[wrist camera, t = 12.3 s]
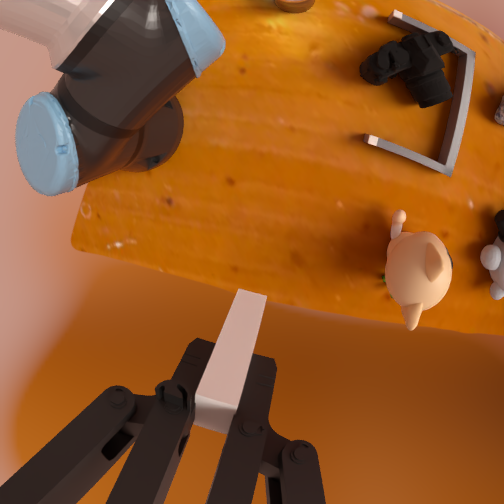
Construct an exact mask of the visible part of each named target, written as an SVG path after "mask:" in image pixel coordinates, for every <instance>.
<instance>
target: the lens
mask: <svg viewBox="0 0 504 504" xmlns="http://www.w3.org/2000/svg"><path fill="white" fill-rule="evenodd" d="M274 2H275V4H276V5H277V7H278V8H280V9H281V10H283V11H285V12H289V13H302V12H305V11H307V10H309V9H310V8H311V7H312V6H313V4H314V2H315V0H274Z"/></svg>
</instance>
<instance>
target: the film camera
mask: <svg viewBox="0 0 504 504" xmlns="http://www.w3.org/2000/svg"><path fill="white" fill-rule="evenodd" d="M401 40H402V42H399V43H397V41H391V42H389V43H387V44H385V45H383V46H381V47H380V49H379V51H378V52H376V53H374V54H372V55H370V56H369V57H368V58H367V59H366V60H365V61H364V62H362V64H361V65H360V73H361V75H360V76H361V77H363V79H365V80H366V81H367V82H369V83H371V84H373V85H376V86H379V85H382V84H384V83H386V82H387V81H388V80H387V78H388V77H389V78H391V79H392V78H395V77H396V76H397V73H399V75H400V77H401V79H402V80H403V81H404V82H406V86H407V88H408V89H409V90H410V92H411V94H412V96H413V98H414V100H415V101H416V102H418V104H419V106H420V108H426V107H429V106H433V105H436V104H439V103H441V102H444V101H446V100H448V99H450V98H452V97H453V95H452V92H451V91H450V89H451V87H450V85H449V83H448V81H447V80H446V78H445V76H444V72H443V71H442V68H445V66H444V62H443V60H442V59H441V57H440V56H441V55H443V54H446V53H449V52H453V53H455V50H456V51H457V53H455V54H458V53H459V50H458V48H456V47H454V46H453V43H452V41H451V40H450V38H449V36H448V35H447V34H445V33H444V32H443V31H434V32H430V33H426V34H419V33H417V32H415V33H412V34H409V35H406V36H404V37H403V38H402V39H401ZM454 49H455V50H454Z"/></svg>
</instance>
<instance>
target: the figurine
mask: <svg viewBox="0 0 504 504" xmlns="http://www.w3.org/2000/svg"><path fill="white" fill-rule="evenodd" d="M495 222H496V224H497V226H498V229H499V232H498V236H497V238H496V240H495V241H494V243H493V245H487V246H485V247H484V248H483V250H482V251H481V256H480V259H481V263H482V264H483V266H484V267H485V268H486V269H488V270H489V272H490V275H491V278H492V280H493V281H494V282H493V283H492V285H491V287H490V294H491V296H492V298H493V299H495V300H499V299H500V298H502V297H503V296H504V210H501V211H499V212H498V213H497V214H496V216H495Z"/></svg>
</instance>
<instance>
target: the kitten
mask: <svg viewBox="0 0 504 504" xmlns="http://www.w3.org/2000/svg"><path fill="white" fill-rule="evenodd" d="M405 220H406V213H405V212H404V211H403V210H397V211H396V212H395V213H394V214H393V216H392V221H393V222H392V227H391V241H390V243H389V245H388V248H387V259H388V260H387V263H386V267H385V276H382V279H383V282H386V285H387V288H388V290H389V292H390V295H391V298H393V299H394V300H395V301H396V302H397V303H398V304H400V305H401V310H402V314H403V316H404V319H405V323H406V327H407V328H408V329H409V330H413V329H415V327H416V326H417V324H418V321H419V318H420V315H421V312H422V310H426V309H429V308H431V307H433V306H434V305H436V304H437V303H438V302H439V301H440V300H441V299H442V298H443V297H444V295H445V294H446V292H447V290H448V288H449V285H450V282H451V275H452V268H453V263H452V259H451V257H450V255H449V253H448V250H447V248H446V247H445V246H444V245H443V243H442V242H441V240H440V239H439V238H438V237H437V236H435V235H434V234H432V233H430V232H425V231H423V232H417V233H410V232H401V229H402V223H403V222H404V221H405Z"/></svg>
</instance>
